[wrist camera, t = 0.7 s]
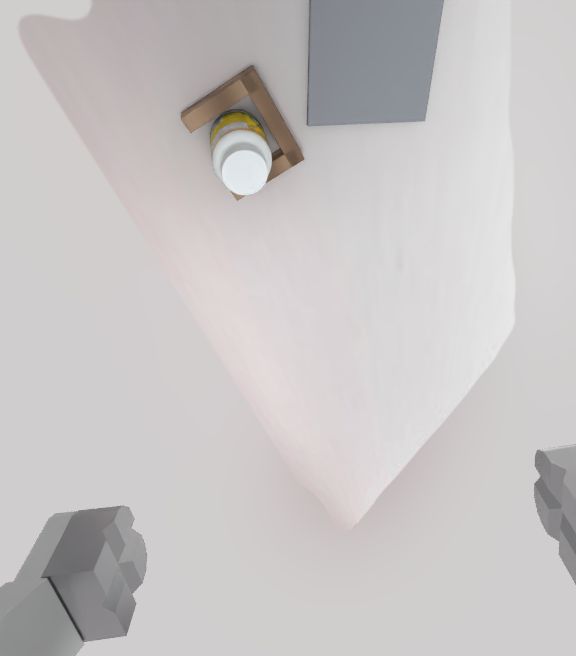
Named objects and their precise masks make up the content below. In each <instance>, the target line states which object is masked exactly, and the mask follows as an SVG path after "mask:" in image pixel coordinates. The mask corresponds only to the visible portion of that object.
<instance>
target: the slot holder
mask: <svg viewBox="0 0 576 656" xmlns="http://www.w3.org/2000/svg"><path fill="white" fill-rule="evenodd" d="M248 95H250V97H251V98H252V100H253V102H254V103H255V105H256V107H257V109H258V110H259V112H260V114H261V115H262V117H263V119H264V121H265V122H266V124H267V126H268V127H269V129H270V131H271V133H272V134H273V136H274V138H275V139H276V141H277V143H278V144H279V146H280V148H281V149H279V150H277V151H276V152H274V153H273V154H271V155H272V165H271V170H270V172H269V175H268V177H267V181H266V183H267V182H268V181H270V180H272V179H273V178H275V177H277V176H278V175H280V174H281V173H283V172H285V171H286V170H288V169H290V168H291V167H293V166H294V165H296V164H298V163H299V162H301V161H303V160H304V157H303V155H302V153H301V151H300V149H299V147H298V145H297V144H296V142H295V140H294V138H293V136H292V135H291V133H290V131H289V129H288V128H287V126H286V124H285V122H284V120H283V119H282V117H281V115H280V113H279V112H278V110H277V108H276V106H275V104H274V103H273V101H272V99H271V97H270V95H269V94H268V92H267V90H266V88H265V87H264V85H263V83H262V81H261V79H260V78H259V76H258V74H257V72H256V71H255V69H254V67H253V65H252V66H250V67H249V68H247V69H246V70H244V71H243V72H241V73H240V74H238V75H237V76H236V77H234V78H233V79H231V80H230V81H228V82H227V83H225V84H224V85H222V86H221V87H219V88H218V89H216V90H215V91H213V92H212V93H210V94H209V95H207V96H206V97H204V98H203V99H201V100H200V101H198V102H197V103H195V104H194V105H193V106H191V107H190V108H188V109H187V110H185V111H184V112H182V113H181V120H182V122H183V123H184V124H185V126H186V127H187V129H188V130H189V132H190V133H192V132H193V131H195V130H196V129H198V128H199V127H201V126H202V125H204V124H205V123H207V122H208V121H210V120H211V119H213V118H214V117H216V116H217V115H219V114H220V113H222V112H223V111H225V110H226V109H228V108H229V107H231V106H232V105H234V104H236V103H237V102H239V101H240V100H242V99H243V98H245V97H246V96H248ZM231 192H232V191H231ZM232 194H233V195H234V197H235V198H236V200H237V201H238V200H239V199H241V198H242V197H244V196H246V195H239V194H236V193H233V192H232Z"/></svg>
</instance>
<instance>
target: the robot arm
mask: <svg viewBox="0 0 576 656" xmlns="http://www.w3.org/2000/svg"><path fill="white" fill-rule="evenodd" d="M535 467H536V469H537V471H538V472H539V474H540V476H541V477H540V478H539V479H538V480H537V481H536V483H535V484H534V492H535V493H534V496H535V497H534V498H535V503H536V507H537V512H538V514H539V517H540V519H541V522H542V524H543V526H544V528H545V530H546V532H547V533H548V535H550V536H551V537H553V538H555V539H556V540H558V541H559V542H560V543H559V555H560V557H561V559H562V561H563V562H564V564H565V566H566V568H567V569H568V571H569V573H570V575H571V577H572V579H573V580H574V582H575V584H576V444H574V445H567V446H560V447H553V448H546V449H539V450H537V452H536V455H535ZM133 521H134V517H133V515H132V513H131V511H130V509H129V507H126V506H116V507H107V508H98V509H89V510H79V511H76V512H66V513H57V514H54V515H53V516H52V517H50V518H49V520H48V521H47V523H46V525H45V526H44V528H43V530H42V532H41V533H40V535H39V537H38V539H37V541H36V542H35V544H34V546H33V548H32V549H31V551H30V553H29V555H28V557H27V558H26V560H25V562H24V564H23V565H22V567H21V569H20V571H19V573H18V574H17V576H16V578H15V580H14V581H13V582H8V583H5V584H4V585H3V586H2V587H0V656H75V655H76V654H77V653H78V652H79V650H80V649H81V648H82V647H83V646H84V642H87V641H92V640H101V639H107V638H115V637H121V636H126V635H127V632H128V629H129V626H130V622H131V619H132V616H133V612H134V609H135V606H136V602H135V600H134V598H133V595H132V593H133V592H134V591H135V590H136V589H137V588H138V587H139V586H140V585H141V584H142V583H143V579H144V576H145V572H146V561H147V553H146V548H145V543H144V540H143V538H142V535H141V534H139V533H138V532H136V531H135V530H133V529H132V528H131V527H132V525H133Z"/></svg>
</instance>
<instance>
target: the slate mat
mask: <svg viewBox="0 0 576 656" xmlns="http://www.w3.org/2000/svg"><path fill="white" fill-rule="evenodd" d="M443 2H444V0H310V18H309V62H308V106H307V125H308V126H322V125H346V124H370V123H393V122H417V121H425V117H426V111H427V104H428V98H429V92H430V85H431V79H432V72H433V66H434V59H435V53H436V47H437V40H438V34H439V27H440V21H441V15H442V8H443Z"/></svg>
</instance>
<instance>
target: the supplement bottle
mask: <svg viewBox="0 0 576 656" xmlns="http://www.w3.org/2000/svg"><path fill="white" fill-rule="evenodd" d="M210 144H211V156H212V165H213V169H214V171H215V174H216V175H217V177H218V178H219V180H220V181H221V182H222V183H224V184H225V185H226V187H227V188H228V189H229V190H230V191H232V192H233V193H236V194H239V195H251V194H254V193H256V192H258V191H259V190H260V189H261V188H262V187H263V186H264V185H265V183H266V181H267V177H268V175H269V172H270V170H271V165H272V155H271V151H270V148H269V145H268V143H267V139H266V137H265V134H264V131H263V128H262V126H261V125H260V123H259V122H258V121H257V119H255V118H254V117H253V116H252V115H251V114H249V113H247V112H245V111H241V110H233V111H229V112H226V113H224V114H222V115H221V116H220V117H219V118H218V119H217V120H216V121H215V123H214V124H213V126H212V129H211V133H210Z"/></svg>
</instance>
